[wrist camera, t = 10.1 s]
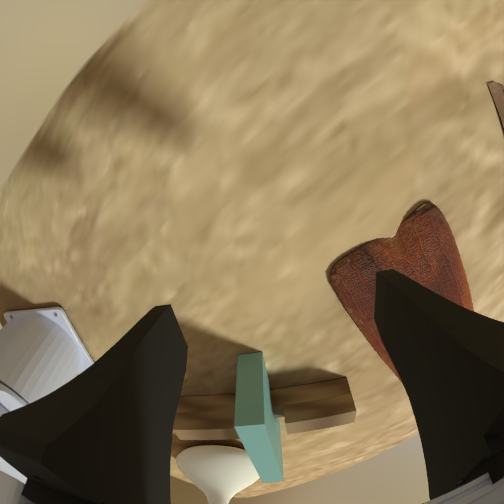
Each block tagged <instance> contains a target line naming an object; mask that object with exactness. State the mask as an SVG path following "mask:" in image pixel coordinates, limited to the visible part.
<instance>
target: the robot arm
mask: <svg viewBox="0 0 504 504" xmlns="http://www.w3.org/2000/svg"><path fill="white" fill-rule="evenodd" d="M4 318H5V320H6V321H7V323H6V324H5V325H4V327H3V328H2V329H1V330H0V504H171V503H170V458H171V443H172V432H173V426H174V420H175V415H176V411H177V407H178V402H179V398H180V394H181V389H182V385H183V380H184V376H185V371H186V362H187V350H188V346H187V344H186V341H185V339H184V337H183V334H182V332H181V329H180V327H179V324H178V322H177V319H176V317H175V314H174V312H173V309H172V307H171V304H170V305H161V306H155V307H154V308H152V309H151V310H150V311H149V312H148V313H147V314H146V315H145V316H144V317H143V318H142V319H141V320H139V321H138V322H137V323H136V324H135V325H134V326H133V327H132V328H131V329H130V330H129V331H128V332H127V333H126V334H125V335H124V336H123V337H122V338H121V339H120V340H119V341H118V342H117V343H116V344H115V345H114V346H113V347H111V348H110V349H109V350H108V351H107V352H106V353H105V354H104V355H103V356H102V357H101V358H99V359H98V360H97V361H96V362H95V363H94V361H93V360H92V358H91V357H90V355H89V353H88V352H87V350H86V348H85V347H84V345H83V343H82V342H81V340H80V338H79V337H78V335H77V333H76V332H75V330H74V328H73V326H72V324H71V323H70V321H69V319H68V317H67V315H66V313H65V312H64V310H63V309H62V308H61V307H51V308H41V309H30V310H20V311H8V312H5V313H4ZM374 320H375V323H376V326H377V329H378V332H379V334H380V337H381V340H382V342H383V344H384V347H385V349H386V351H387V353H388V355H389V357H390V359H391V361H392V363H393V365H394V367H395V369H396V371H397V373H398V375H399V377H400V379H401V381H402V383H403V385H404V387H405V390H406V392H407V395H408V397H409V400H410V403H411V406H412V409H413V413H414V416H415V419H416V423H417V427H418V430H419V434H420V438H421V442H422V448H423V453H424V458H425V463H426V470H427V477H428V484H429V497H430V501H428V502H425V503H423V504H504V322H501V321H497V320H494V319H491V318H489V317H486V316H483V315H481V314H479V313H476V312H474V311H471V310H469V309H467V308H464V307H462V306H460V305H458V304H456V303H454V302H452V301H450V300H448V299H446V298H444V297H442V296H441V295H439V294H437V293H435V292H433V291H431V290H430V289H428V288H426V287H424V286H423V285H421V284H419V283H417V282H416V281H414V280H412V279H411V278H409V277H407V276H405V275H403V274H402V273H400V272H398V271H396V270H394V269H388V270H383V271H378V272H376V291H375V309H374ZM76 374H79V375H78V376H76ZM75 376H76V377H75Z"/></svg>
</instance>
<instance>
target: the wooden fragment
mask: <svg viewBox="0 0 504 504" xmlns="http://www.w3.org/2000/svg"><path fill="white" fill-rule="evenodd" d="M486 83H487V84H488V86H489V89H490V91H491V94H492V97H493V99H494V102H495V104H496V107H497V110H498V112H499V115H500V118H501V121H502V124H503V128H504V86H503V85H502V84H498V83H495V82H486Z"/></svg>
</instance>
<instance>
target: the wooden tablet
mask: <svg viewBox="0 0 504 504" xmlns="http://www.w3.org/2000/svg"><path fill="white" fill-rule="evenodd" d="M388 269H394V270H396V271H398V272H400V273H402V274H403V275H405V276H407V277H409V278H411V279H412V280H414V281H416V282H417V283H419V284H421V285H423V286H424V287H426V288H428V289H430V290H431V291H433V292H435V293H437V294H439V295H441V296H442V297H444V298H446V299H448V300H450V301H452V302H454V303H456V304H458V305H460V306H462V307H464V308H467V309H469V310H471V311H474V310H473V304H472V299H471V295H470V289H469V285H468V282H467V278H466V273H465V270H464V268H463V264H462V261H461V258H460V254H459V251H458V248H457V245H456V242H455V239H454V237H453V234H452V231H451V229H450V227H449V224H448V222H447V221H446V219H445V217H444V215H443V214H442V212H441V211H440V210H439V208H438V207H437V206H436V205H434V204H432V203H425V204H423V205H421V206H420V207H419V208H417V209H416V210H415V211H414V212H413V213H412V214H410V215H409V216H408V217H407V218H406V219H405V220H404V221H403V222H402V223H401V225H400V226H399V228H398V230H397V233H396V235H395V236H394V237H393V238H380V239H376V240H372V241H370V242H368V243H365V244H363V245H362V246H360V247H358V248H357V249H355V250H353V251H352V252H350V253H349V254H347V255H346V256H344V257H343V258H342V259H340V260H339V261H338V262H337V263H335V265H334V266H333V268H332V271H331V274H330V280H331V285H332V286H333V288H334V290H335V291H336V293H337V295H338V296H339V298H340V300H341V302H342V303H343V305H344V307H345V308H346V310H347V312H348V313H349V315H350V316H351V317H352V319H353V320H354V322H355V323H356V324H357V326H358V328H359V329H360V330H361V332H362V333H363V334H364V336H365V337H366V339H367V340H368V341H369V343H370V344H371V345H372V346H373V348H374V349H375V350H376V352H377V353H378V354H379V356H380V357H381V358H382V359H383V361H384V362H385V363H386V364H387V365H388V366H389V367H390V369H391V370H392V371H393V372H394V373H395V375H396V376H397V377H398V378H399V379H400V377H399V375H398V373H397V371H396V369H395V367H394V365H393V363H392V361H391V359H390V357H389V355H388V353H387V351H386V349H385V347H384V344H383V342H382V340H381V337H380V334H379V332H378V329H377V326H376V323H375V320H374V309H375V291H376V272H378V271H383V270H388ZM400 380H401V379H400ZM401 382H402V381H401Z"/></svg>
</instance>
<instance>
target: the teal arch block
mask: <svg viewBox="0 0 504 504" xmlns="http://www.w3.org/2000/svg"><path fill="white" fill-rule="evenodd" d="M234 427H235V430H236V432H237V434H238V436H239V438H240V440H241V442H242V444H243V446H244V448H245V450H246V452H247V454H248V456H249V458H250V460H251V462H252V463H253V465H254V467H255V469H256V471H257V473H258V475H259V477H260V479H261V480H262V482H263V483H267V482H278V481H284V478H283V462H282V447H281V433H280V424H279V419H278V418H275V416H274V412H273V408H272V404H271V400H270V384H269V378H268V374H267V370H266V366H265V362H264V358H263V353H262V352H258V353H250V354H242V355H238V360H237V379H236V398H235V419H234Z"/></svg>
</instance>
